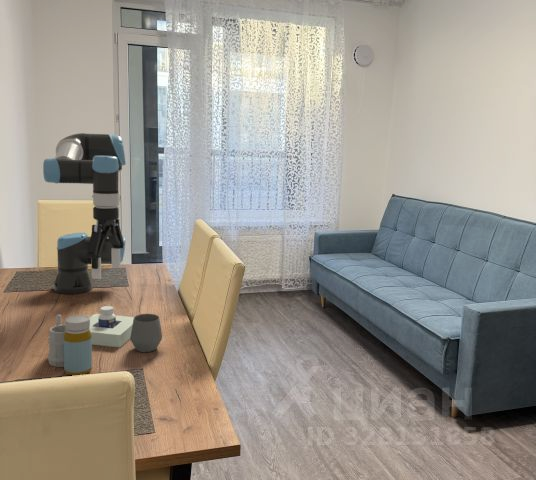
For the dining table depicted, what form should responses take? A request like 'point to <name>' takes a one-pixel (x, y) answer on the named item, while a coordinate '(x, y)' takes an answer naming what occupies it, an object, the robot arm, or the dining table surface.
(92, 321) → the socket block
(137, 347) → the cup
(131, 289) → the dining table surface
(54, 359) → the mug
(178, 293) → the dining table surface
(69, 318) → the bottle
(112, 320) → the pill bottle
